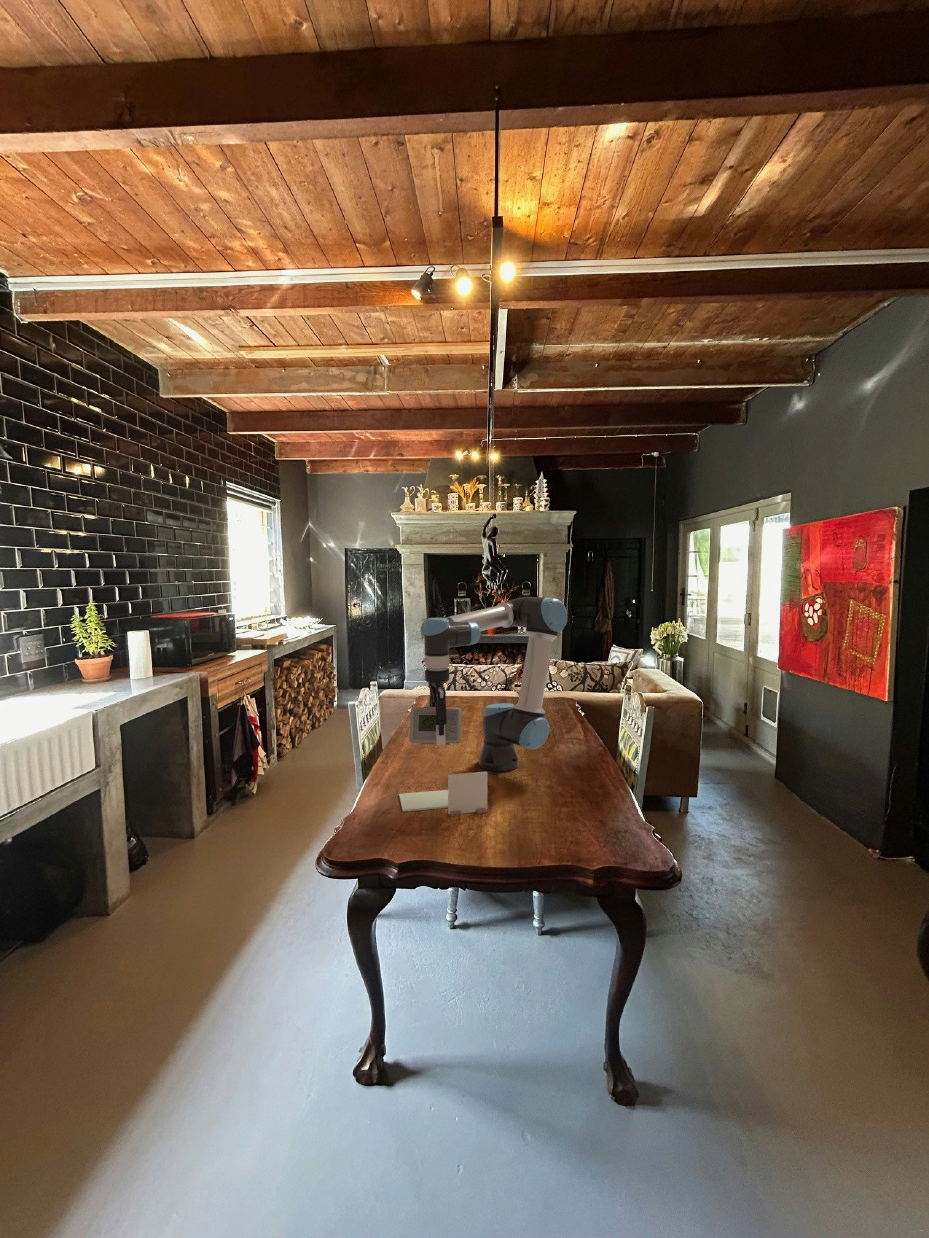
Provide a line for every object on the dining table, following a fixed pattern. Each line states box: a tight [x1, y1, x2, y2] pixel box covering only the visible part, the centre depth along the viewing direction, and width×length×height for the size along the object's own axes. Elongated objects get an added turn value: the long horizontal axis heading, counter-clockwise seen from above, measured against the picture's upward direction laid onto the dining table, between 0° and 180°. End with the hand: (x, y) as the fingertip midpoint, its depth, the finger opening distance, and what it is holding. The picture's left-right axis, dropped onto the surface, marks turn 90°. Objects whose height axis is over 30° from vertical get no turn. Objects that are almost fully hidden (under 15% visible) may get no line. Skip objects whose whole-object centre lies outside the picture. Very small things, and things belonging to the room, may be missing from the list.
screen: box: [447, 771, 488, 817], centre depth 163 cm, size 12×4×12 cm, turn 102°
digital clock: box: [409, 706, 463, 746], centre depth 165 cm, size 16×9×11 cm, turn 75°
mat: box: [398, 789, 448, 812], centre depth 171 cm, size 19×12×1 cm, turn 102°
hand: (438, 740), depth 166 cm, fingers closed on digital clock, 8 cm apart
